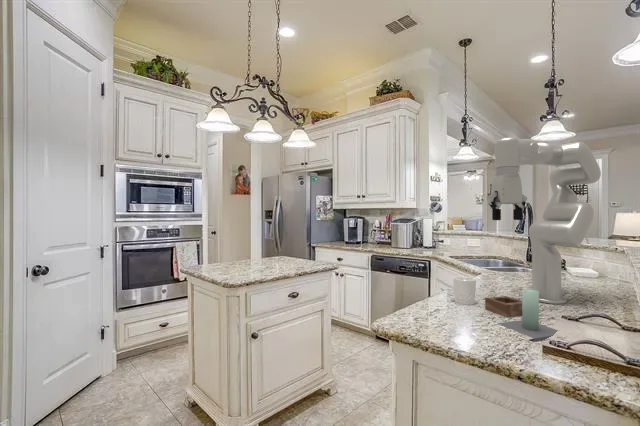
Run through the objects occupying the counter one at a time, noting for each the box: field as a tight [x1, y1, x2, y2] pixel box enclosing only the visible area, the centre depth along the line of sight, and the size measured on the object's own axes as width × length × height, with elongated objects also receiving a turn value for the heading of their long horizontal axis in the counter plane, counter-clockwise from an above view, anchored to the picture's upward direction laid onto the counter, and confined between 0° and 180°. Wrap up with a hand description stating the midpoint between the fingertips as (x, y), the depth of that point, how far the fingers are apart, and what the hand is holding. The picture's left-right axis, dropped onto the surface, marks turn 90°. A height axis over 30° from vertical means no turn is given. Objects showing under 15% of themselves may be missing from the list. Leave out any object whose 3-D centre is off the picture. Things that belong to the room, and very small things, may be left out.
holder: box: [484, 295, 522, 318], centre depth 107 cm, size 9×9×5 cm
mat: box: [496, 319, 559, 343], centre depth 92 cm, size 12×12×1 cm
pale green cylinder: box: [521, 288, 540, 331], centre depth 92 cm, size 4×4×11 cm
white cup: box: [452, 276, 477, 306], centre depth 119 cm, size 8×8×10 cm
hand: (507, 220), depth 113 cm, fingers open, 9 cm apart
